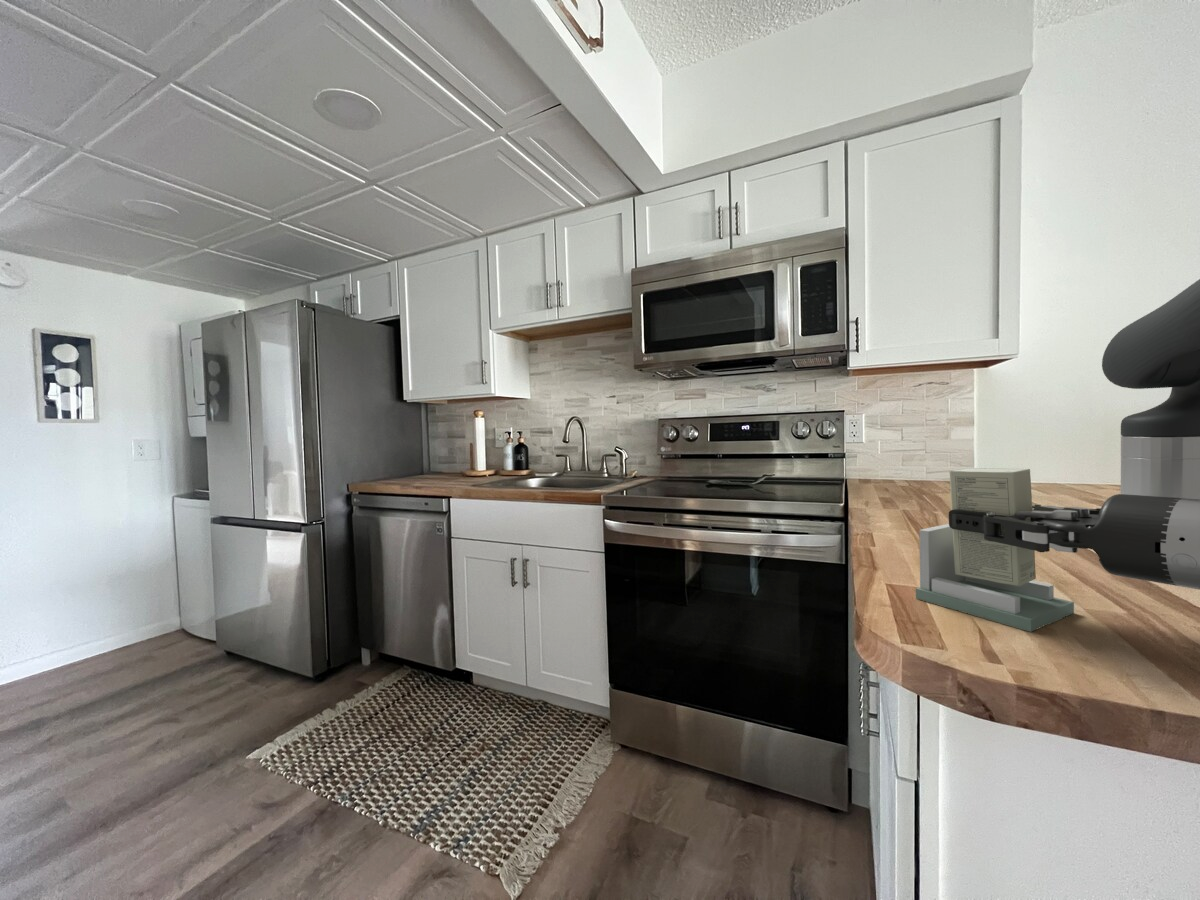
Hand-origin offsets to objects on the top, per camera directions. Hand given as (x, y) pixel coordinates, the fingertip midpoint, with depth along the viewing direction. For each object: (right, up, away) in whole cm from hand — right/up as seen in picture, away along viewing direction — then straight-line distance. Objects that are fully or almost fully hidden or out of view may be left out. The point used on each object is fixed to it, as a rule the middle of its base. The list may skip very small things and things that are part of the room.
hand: (963, 516), depth 56 cm
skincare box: (+2, -7, -2) cm, 7 cm away
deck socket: (+2, -10, -2) cm, 10 cm away
